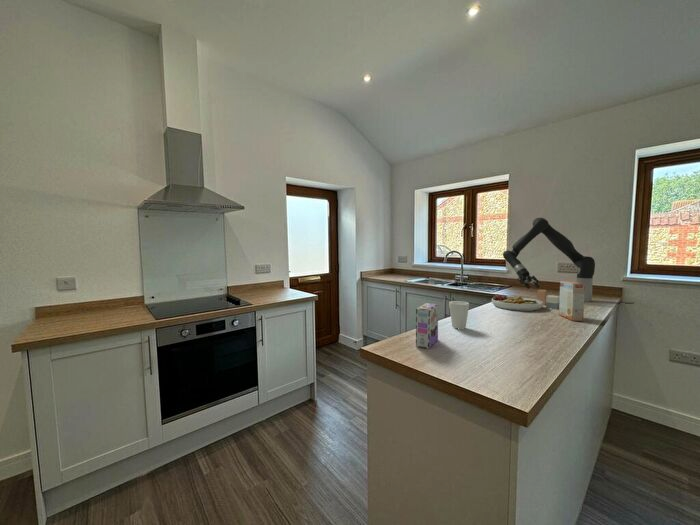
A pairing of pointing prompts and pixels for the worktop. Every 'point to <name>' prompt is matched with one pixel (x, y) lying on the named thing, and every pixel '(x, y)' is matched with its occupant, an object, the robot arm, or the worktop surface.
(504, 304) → the bowl
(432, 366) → the worktop surface
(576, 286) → the cracker box
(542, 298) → the pillar
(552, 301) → the tower top
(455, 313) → the foam cup
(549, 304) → the tower base
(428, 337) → the candy box
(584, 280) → the robot arm
